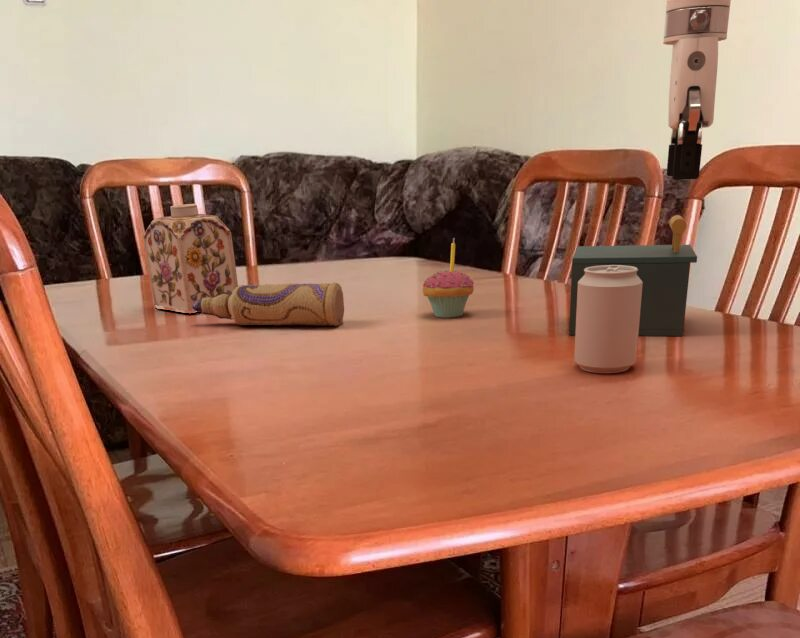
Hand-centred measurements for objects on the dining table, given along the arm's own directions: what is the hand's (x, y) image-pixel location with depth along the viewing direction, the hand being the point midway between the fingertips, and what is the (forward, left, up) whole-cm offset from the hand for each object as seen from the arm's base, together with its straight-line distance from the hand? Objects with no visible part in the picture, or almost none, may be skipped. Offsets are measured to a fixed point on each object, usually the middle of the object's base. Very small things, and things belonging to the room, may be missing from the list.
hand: (681, 177), depth 110 cm
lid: (+4, -6, -11) cm, 13 cm away
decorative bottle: (+57, -25, -21) cm, 66 cm away
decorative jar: (+72, -46, -21) cm, 88 cm away
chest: (+4, -6, -21) cm, 22 cm away
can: (+15, +17, -21) cm, 30 cm away
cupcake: (+28, -23, -21) cm, 42 cm away
